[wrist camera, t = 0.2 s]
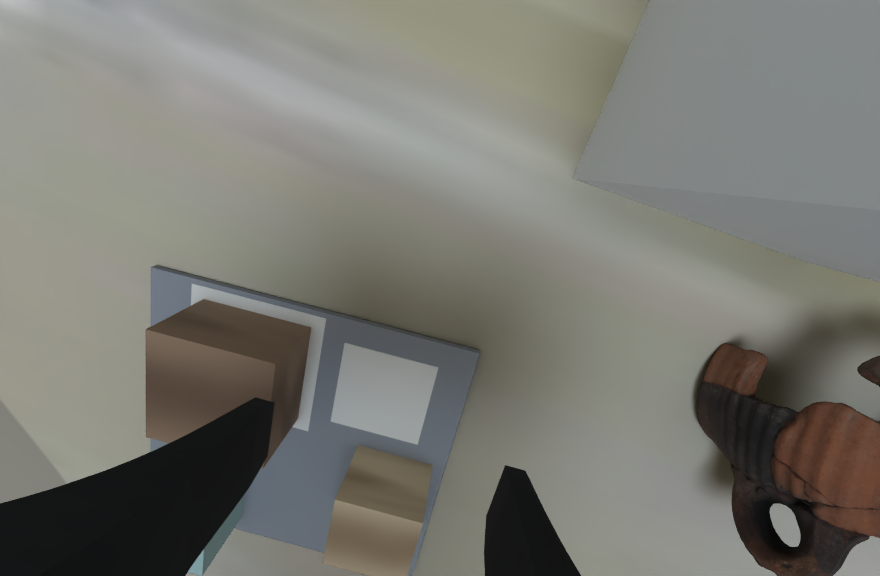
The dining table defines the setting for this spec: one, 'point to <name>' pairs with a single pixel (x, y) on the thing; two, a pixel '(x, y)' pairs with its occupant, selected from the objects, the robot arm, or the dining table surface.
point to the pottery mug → (793, 465)
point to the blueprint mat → (339, 405)
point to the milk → (752, 124)
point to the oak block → (378, 514)
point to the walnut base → (222, 369)
